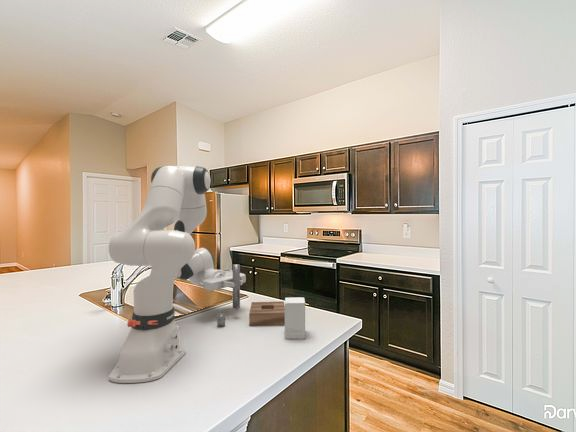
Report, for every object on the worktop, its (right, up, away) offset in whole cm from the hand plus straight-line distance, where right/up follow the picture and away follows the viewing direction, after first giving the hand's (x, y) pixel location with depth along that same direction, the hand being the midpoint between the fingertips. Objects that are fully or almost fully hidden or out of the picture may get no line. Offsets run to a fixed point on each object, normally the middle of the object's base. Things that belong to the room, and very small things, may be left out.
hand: (237, 284), depth 124 cm
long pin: (-1, -10, +1) cm, 10 cm away
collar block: (+12, -14, -1) cm, 19 cm away
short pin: (-5, -14, -8) cm, 17 cm away
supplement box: (+23, -15, -16) cm, 32 cm away
